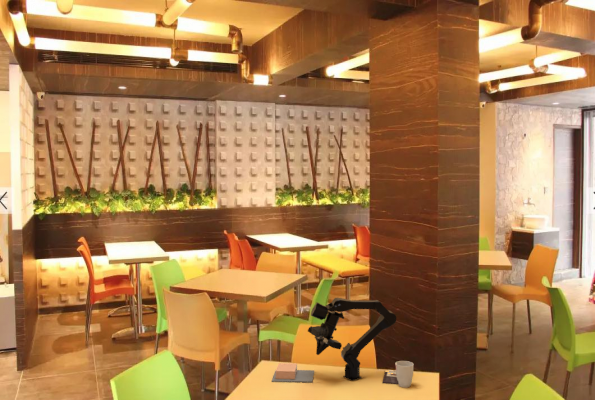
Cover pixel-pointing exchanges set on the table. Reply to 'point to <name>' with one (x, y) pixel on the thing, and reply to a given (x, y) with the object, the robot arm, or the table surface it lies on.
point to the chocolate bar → (390, 377)
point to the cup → (404, 373)
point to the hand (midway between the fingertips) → (317, 354)
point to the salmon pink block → (286, 371)
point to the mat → (298, 377)
